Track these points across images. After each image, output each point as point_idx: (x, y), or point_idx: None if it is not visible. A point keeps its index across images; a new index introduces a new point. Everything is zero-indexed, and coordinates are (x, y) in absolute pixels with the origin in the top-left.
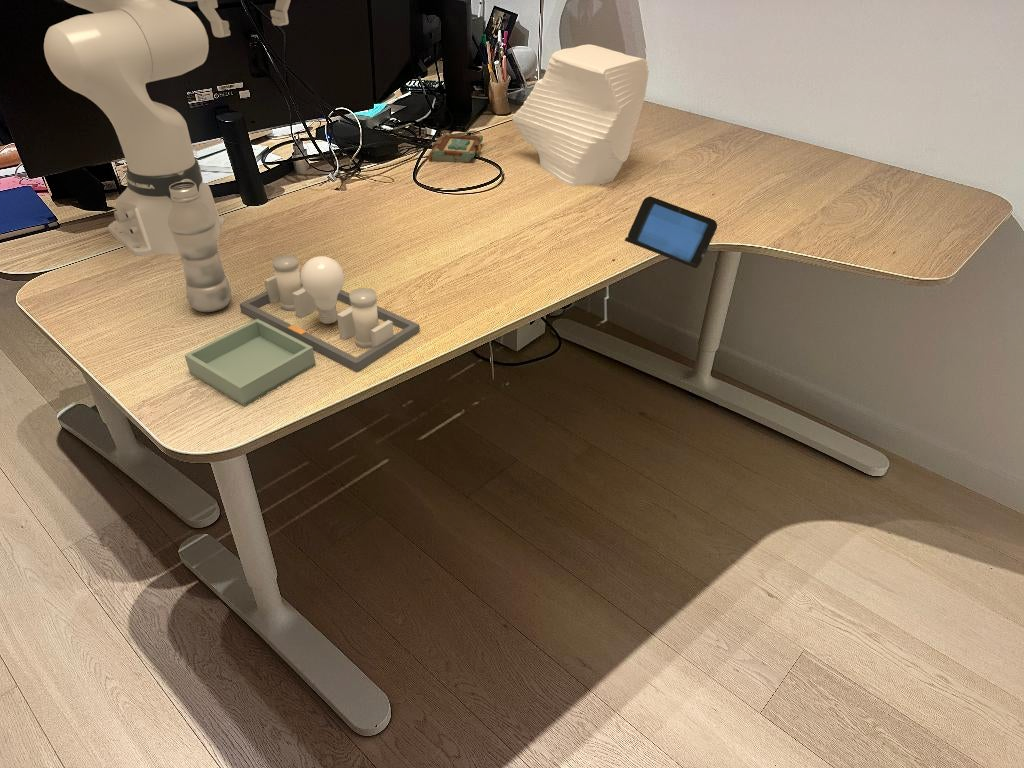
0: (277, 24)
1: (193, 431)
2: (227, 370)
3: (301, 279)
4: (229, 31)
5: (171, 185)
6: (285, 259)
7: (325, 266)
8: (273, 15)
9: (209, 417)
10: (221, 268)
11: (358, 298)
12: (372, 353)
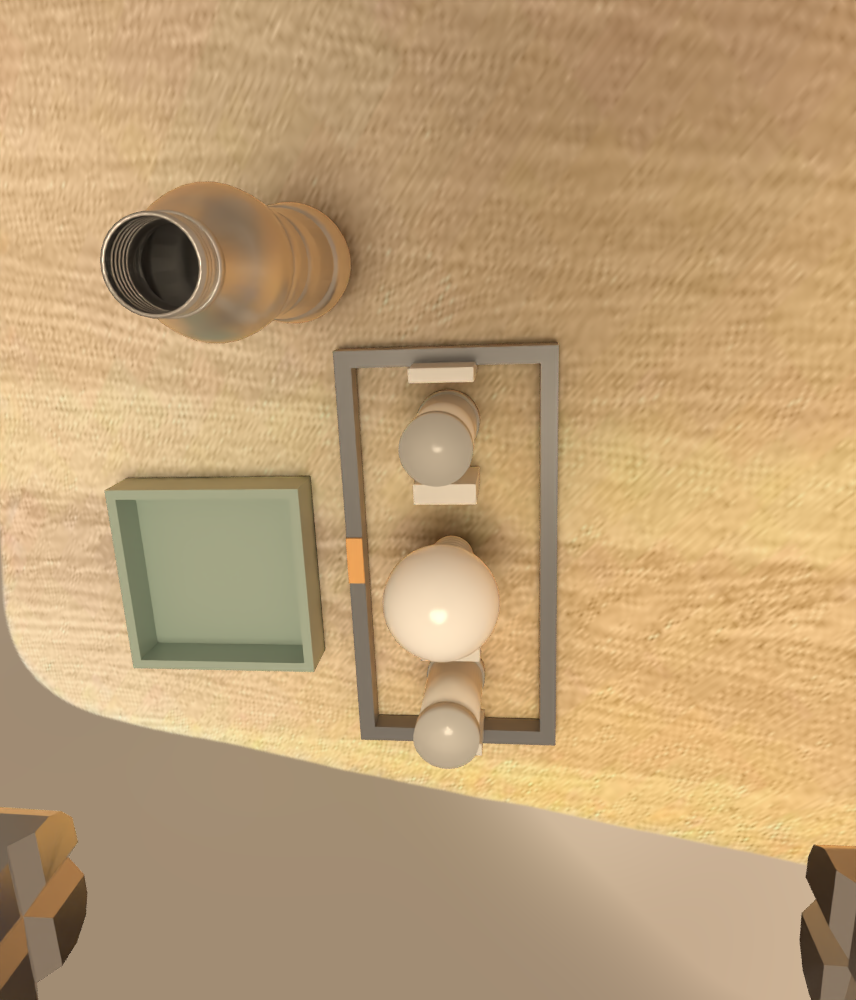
0: (808, 924)
1: (55, 633)
2: (180, 541)
3: (385, 586)
4: (58, 956)
5: (122, 223)
6: (438, 449)
7: (427, 654)
8: (853, 973)
9: (93, 623)
10: (307, 304)
11: (426, 744)
12: (407, 740)
